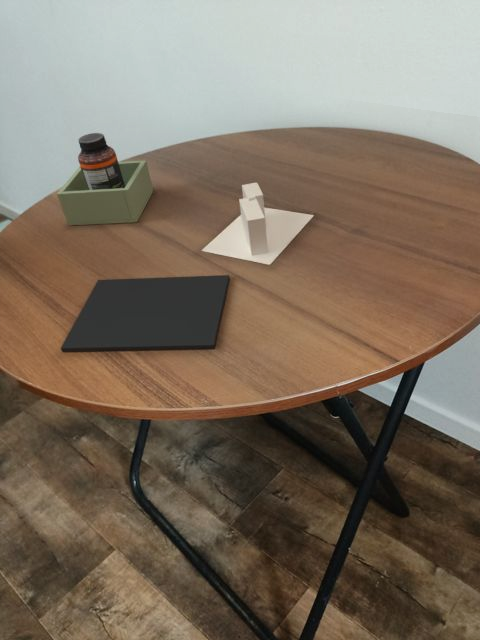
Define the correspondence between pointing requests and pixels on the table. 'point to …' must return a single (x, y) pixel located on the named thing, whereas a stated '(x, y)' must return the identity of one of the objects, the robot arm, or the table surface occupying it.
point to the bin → (107, 197)
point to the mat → (150, 314)
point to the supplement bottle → (99, 163)
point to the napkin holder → (257, 230)
